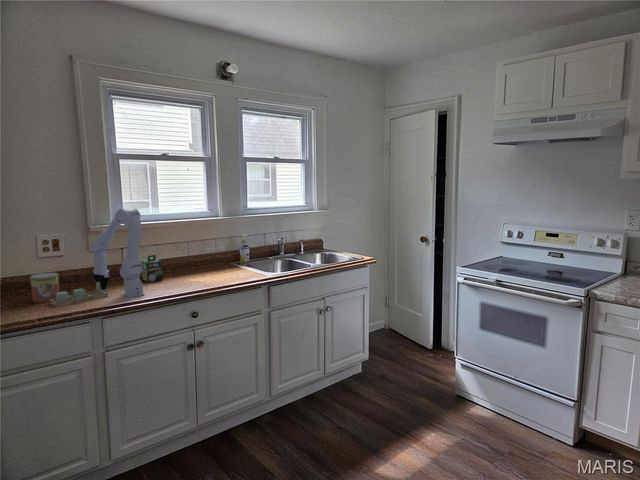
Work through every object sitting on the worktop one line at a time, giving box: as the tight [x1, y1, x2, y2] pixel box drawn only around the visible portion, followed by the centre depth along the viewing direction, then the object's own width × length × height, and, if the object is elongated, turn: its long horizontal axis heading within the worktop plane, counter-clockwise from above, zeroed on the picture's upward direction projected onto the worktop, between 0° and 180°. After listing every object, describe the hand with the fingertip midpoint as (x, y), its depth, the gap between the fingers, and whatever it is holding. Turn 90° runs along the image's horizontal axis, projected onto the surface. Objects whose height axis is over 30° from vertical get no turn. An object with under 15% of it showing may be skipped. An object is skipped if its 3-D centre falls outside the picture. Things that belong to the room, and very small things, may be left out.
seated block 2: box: [72, 288, 86, 299], centre depth 199 cm, size 4×4×5 cm
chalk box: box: [140, 254, 164, 283], centre depth 241 cm, size 9×9×15 cm
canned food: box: [30, 272, 60, 303], centre depth 200 cm, size 11×11×12 cm
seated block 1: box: [56, 290, 70, 302], centre depth 194 cm, size 4×4×5 cm
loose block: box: [95, 281, 109, 292], centre depth 216 cm, size 4×4×5 cm
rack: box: [49, 290, 109, 308], centre depth 200 cm, size 8×23×2 cm, turn 139°
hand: (102, 288), depth 216 cm, fingers closed on loose block, 4 cm apart
